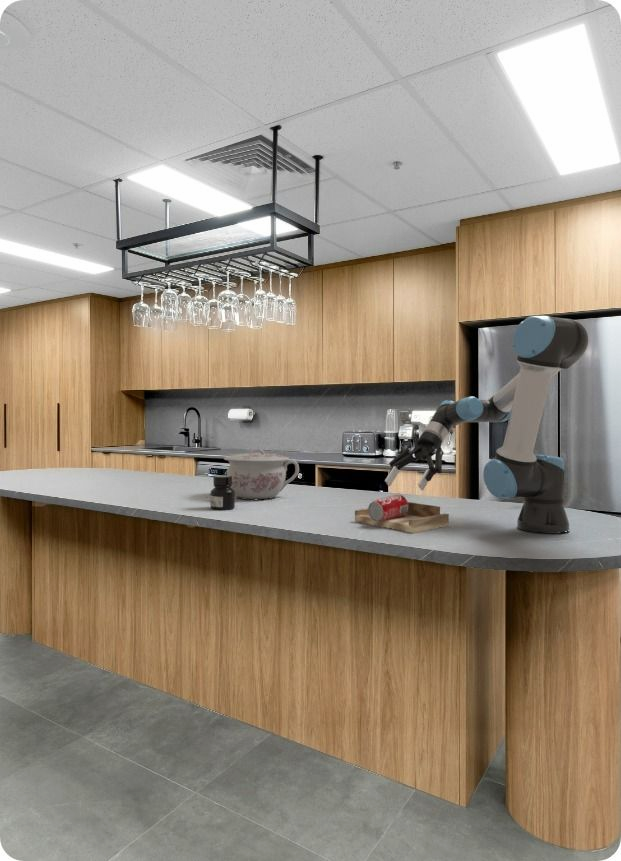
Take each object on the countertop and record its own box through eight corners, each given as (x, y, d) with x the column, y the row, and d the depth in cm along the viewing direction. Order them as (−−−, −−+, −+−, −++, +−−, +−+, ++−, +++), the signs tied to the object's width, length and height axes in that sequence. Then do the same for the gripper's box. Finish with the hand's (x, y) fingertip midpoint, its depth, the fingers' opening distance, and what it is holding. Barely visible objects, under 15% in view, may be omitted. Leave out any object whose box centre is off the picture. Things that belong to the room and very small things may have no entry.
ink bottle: (206, 507, 223) (206, 475, 222) (228, 505, 227) (229, 474, 227) (216, 511, 214) (216, 478, 214) (238, 509, 218) (238, 477, 218)
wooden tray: (448, 525, 190) (448, 506, 189) (412, 533, 178) (413, 512, 177) (390, 515, 208) (391, 498, 207) (354, 521, 196) (355, 502, 195)
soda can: (409, 494, 193) (383, 501, 184) (410, 516, 193) (384, 524, 184) (392, 493, 198) (366, 499, 189) (393, 514, 198) (367, 521, 190)
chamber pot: (209, 498, 246) (209, 448, 246) (252, 491, 269) (253, 445, 268) (262, 504, 230) (262, 451, 230) (303, 497, 253) (303, 448, 252)
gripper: (468, 447, 195) (440, 497, 185) (408, 444, 214) (379, 489, 204) (459, 431, 191) (429, 481, 182) (398, 429, 210) (369, 474, 200)
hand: (403, 485), depth 193 cm, fingers open, 13 cm apart
